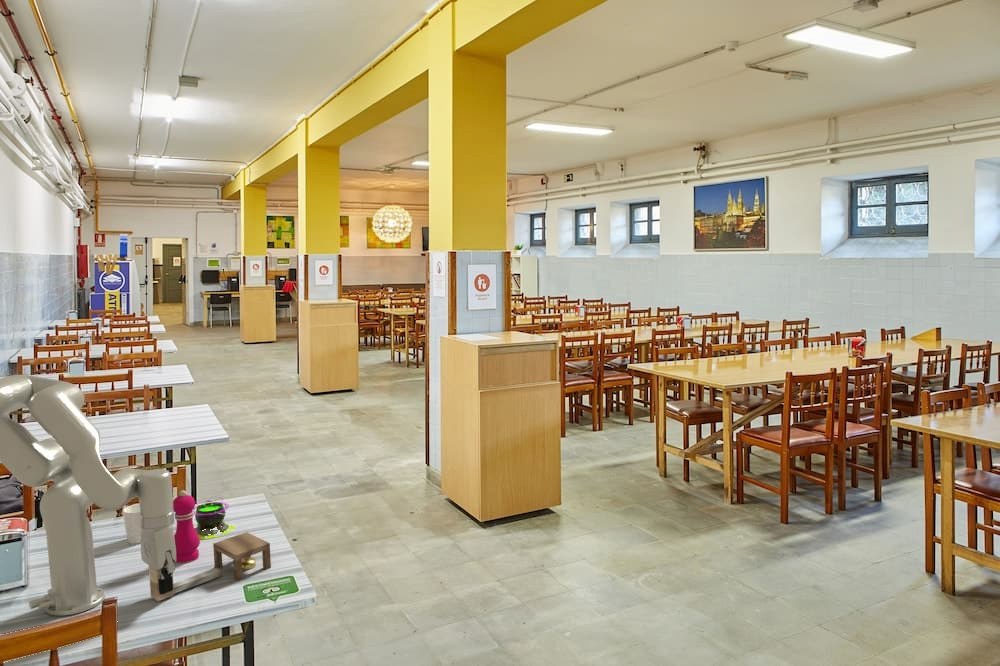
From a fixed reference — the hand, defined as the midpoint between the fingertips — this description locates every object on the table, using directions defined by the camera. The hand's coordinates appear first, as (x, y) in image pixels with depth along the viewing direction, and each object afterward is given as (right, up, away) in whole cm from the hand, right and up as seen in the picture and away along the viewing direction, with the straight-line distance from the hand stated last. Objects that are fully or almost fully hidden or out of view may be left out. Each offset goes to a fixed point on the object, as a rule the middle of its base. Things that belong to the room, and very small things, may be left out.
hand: (162, 588), depth 176 cm
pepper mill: (-4, 0, +23) cm, 23 cm away
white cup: (-24, +1, +36) cm, 44 cm away
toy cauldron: (-6, +2, +43) cm, 44 cm away
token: (+15, -1, +18) cm, 23 cm away
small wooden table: (+14, 0, +17) cm, 22 cm away
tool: (+4, -1, +5) cm, 7 cm away
